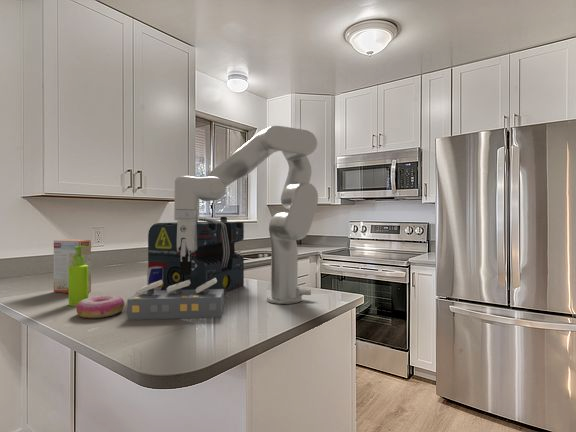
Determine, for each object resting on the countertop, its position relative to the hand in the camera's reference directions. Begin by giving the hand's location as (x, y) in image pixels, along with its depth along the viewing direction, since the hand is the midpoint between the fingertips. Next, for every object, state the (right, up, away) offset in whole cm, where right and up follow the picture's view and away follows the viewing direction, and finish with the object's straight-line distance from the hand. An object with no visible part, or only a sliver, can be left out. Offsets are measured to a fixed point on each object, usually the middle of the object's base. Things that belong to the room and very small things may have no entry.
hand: (185, 274), depth 112 cm
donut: (-26, -13, -1) cm, 29 cm away
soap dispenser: (-40, -12, +12) cm, 44 cm away
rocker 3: (+6, -4, +1) cm, 7 cm away
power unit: (-5, -12, +36) cm, 38 cm away
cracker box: (-54, -12, +31) cm, 63 cm away
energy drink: (-15, -12, +16) cm, 25 cm away
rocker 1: (-11, -4, -1) cm, 11 cm away
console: (-2, -12, 0) cm, 12 cm away
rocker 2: (-2, -4, 0) cm, 4 cm away
